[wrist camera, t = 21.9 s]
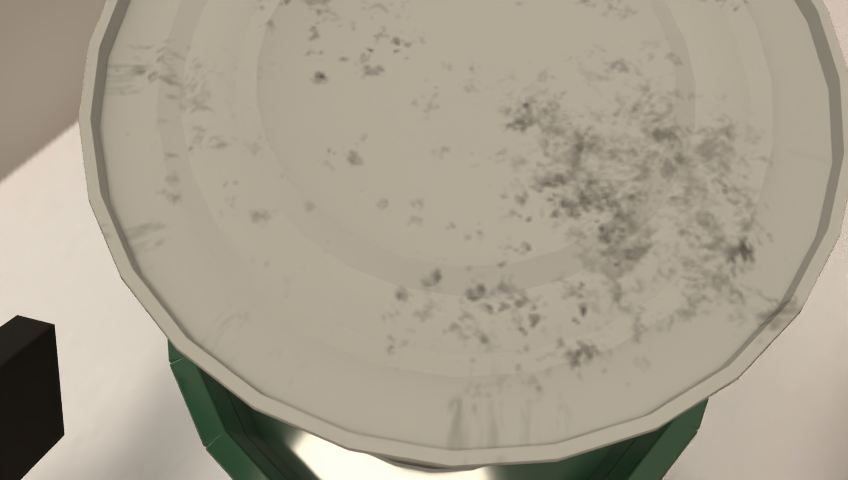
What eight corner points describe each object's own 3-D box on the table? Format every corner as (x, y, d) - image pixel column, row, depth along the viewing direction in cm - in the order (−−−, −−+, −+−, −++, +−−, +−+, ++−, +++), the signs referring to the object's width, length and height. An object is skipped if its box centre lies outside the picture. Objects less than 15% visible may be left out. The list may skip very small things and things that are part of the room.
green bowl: (169, 517, 18) (93, 529, 14) (269, 97, 23) (234, 12, 19) (661, 585, 18) (735, 619, 14) (661, 140, 23) (717, 63, 18)
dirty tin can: (300, 502, 18) (73, 551, 6) (268, 187, 21) (78, -166, 9) (638, 439, 18) (1002, 378, 7) (557, 142, 22) (711, -243, 10)
